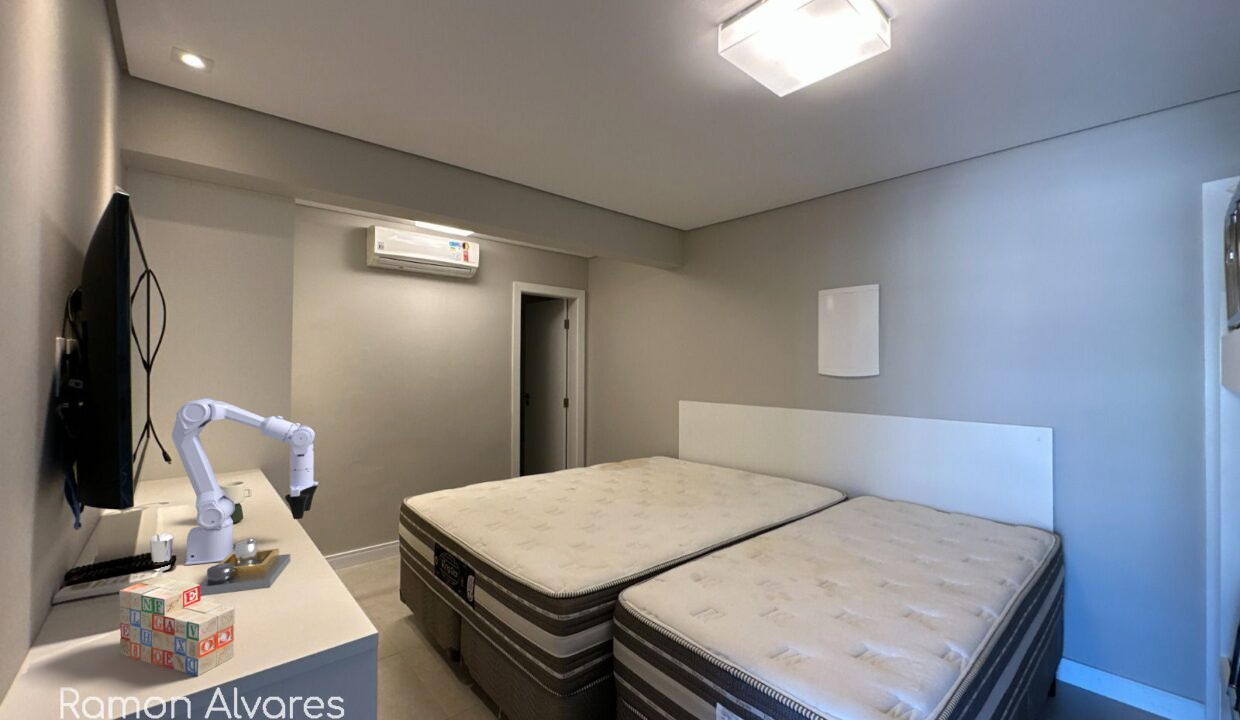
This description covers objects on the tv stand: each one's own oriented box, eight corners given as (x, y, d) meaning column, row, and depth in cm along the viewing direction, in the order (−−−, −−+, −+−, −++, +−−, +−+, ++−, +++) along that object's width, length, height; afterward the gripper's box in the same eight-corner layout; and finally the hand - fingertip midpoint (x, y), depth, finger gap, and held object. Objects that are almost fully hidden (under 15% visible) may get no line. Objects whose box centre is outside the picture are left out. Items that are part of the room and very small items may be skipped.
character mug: (252, 516, 171) (252, 479, 171) (251, 522, 166) (251, 483, 166) (211, 522, 165) (211, 483, 165) (209, 528, 159) (209, 488, 159)
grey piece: (199, 595, 115) (199, 574, 115) (228, 568, 130) (228, 549, 130) (270, 587, 120) (270, 566, 120) (290, 561, 135) (290, 543, 135)
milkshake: (145, 575, 125) (145, 536, 125) (153, 567, 130) (153, 529, 130) (169, 572, 128) (169, 533, 127) (176, 564, 132) (176, 526, 132)
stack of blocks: (235, 657, 92) (235, 591, 92) (197, 677, 86) (197, 607, 86) (158, 636, 99) (158, 575, 99) (118, 654, 93) (118, 588, 93)
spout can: (232, 571, 124) (232, 543, 124) (238, 564, 128) (238, 537, 128) (253, 568, 125) (253, 541, 125) (259, 562, 129) (259, 535, 129)
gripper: (311, 472, 139) (310, 521, 140) (323, 462, 153) (323, 506, 153) (281, 474, 137) (281, 523, 137) (297, 463, 151) (297, 508, 151)
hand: (301, 514), depth 145 cm, fingers open, 7 cm apart
